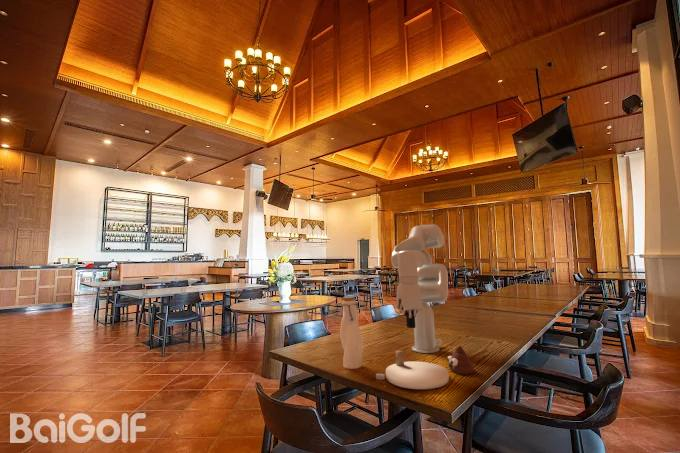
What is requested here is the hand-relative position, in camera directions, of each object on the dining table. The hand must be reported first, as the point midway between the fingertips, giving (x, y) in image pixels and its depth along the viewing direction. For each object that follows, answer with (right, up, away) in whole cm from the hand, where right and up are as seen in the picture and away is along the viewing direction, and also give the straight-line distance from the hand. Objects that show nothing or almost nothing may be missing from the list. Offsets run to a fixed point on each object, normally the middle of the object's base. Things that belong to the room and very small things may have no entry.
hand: (411, 327), depth 126 cm
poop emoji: (+18, -15, -5) cm, 24 cm away
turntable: (-1, -15, -12) cm, 19 cm away
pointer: (-13, -15, -10) cm, 23 cm away
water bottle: (-23, -18, +5) cm, 29 cm away
